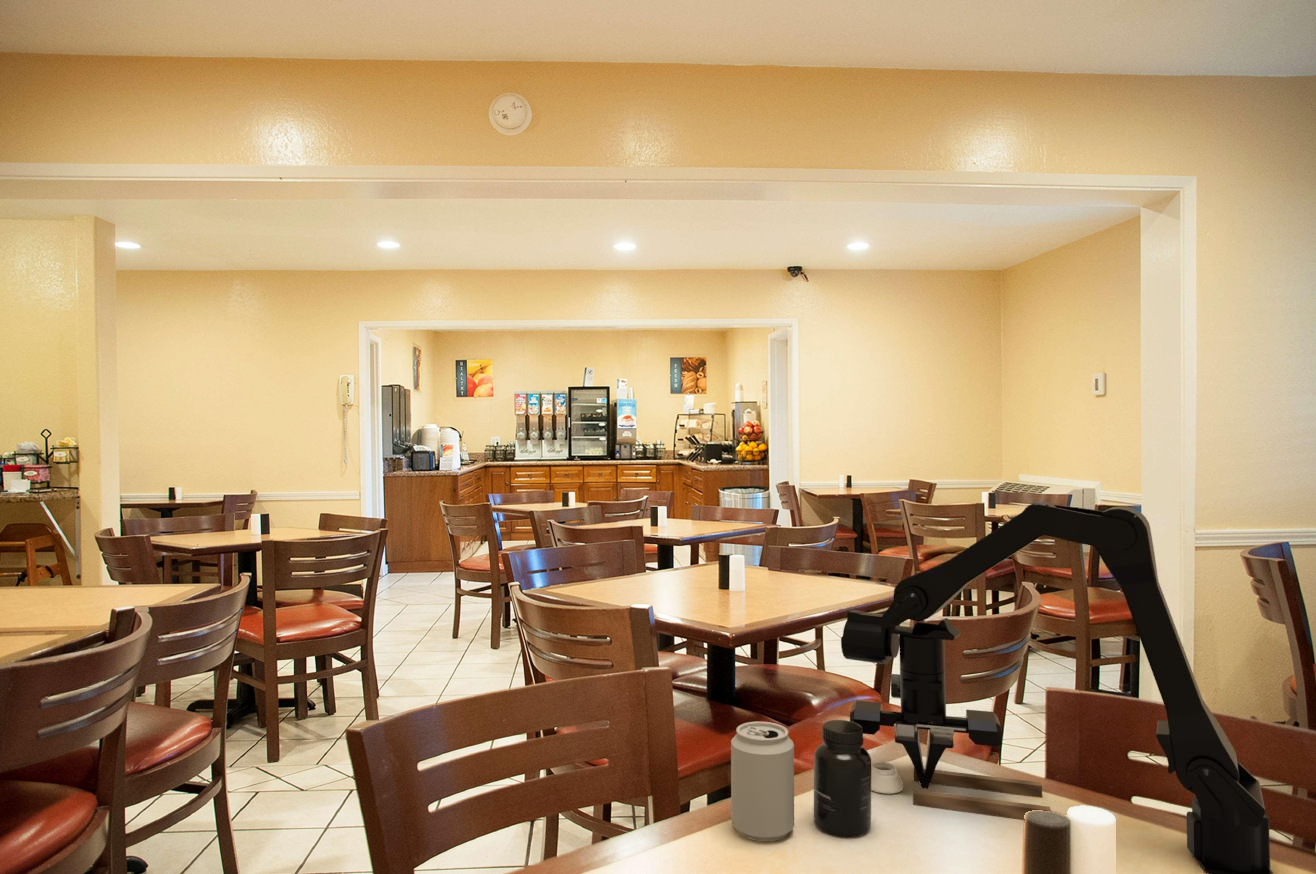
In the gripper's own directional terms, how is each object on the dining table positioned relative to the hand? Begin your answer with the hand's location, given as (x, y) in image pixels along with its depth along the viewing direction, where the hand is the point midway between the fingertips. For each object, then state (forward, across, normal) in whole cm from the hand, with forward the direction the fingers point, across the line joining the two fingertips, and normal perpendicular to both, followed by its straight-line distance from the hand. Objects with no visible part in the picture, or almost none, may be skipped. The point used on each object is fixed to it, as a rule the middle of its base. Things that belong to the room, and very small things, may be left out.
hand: (924, 787), depth 104 cm
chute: (+1, -6, 0) cm, 7 cm away
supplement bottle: (+1, +10, +13) cm, 16 cm away
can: (+1, +18, +17) cm, 25 cm away
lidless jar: (+1, +5, 0) cm, 5 cm away
